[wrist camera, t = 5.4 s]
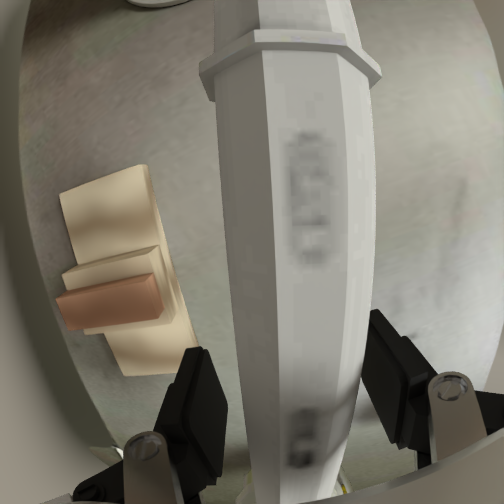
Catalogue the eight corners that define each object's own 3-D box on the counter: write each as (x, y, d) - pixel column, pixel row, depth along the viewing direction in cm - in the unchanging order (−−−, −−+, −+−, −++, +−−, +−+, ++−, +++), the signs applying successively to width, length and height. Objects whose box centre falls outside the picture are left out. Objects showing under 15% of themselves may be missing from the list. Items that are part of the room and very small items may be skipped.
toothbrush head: (382, -43, 4) (339, 578, 7) (331, 56, 11) (322, 500, 14) (178, -50, 4) (238, 586, 7) (210, 57, 11) (242, 506, 14)
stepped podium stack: (69, 192, 25) (26, 200, 19) (147, 164, 25) (113, 163, 18) (130, 366, 30) (107, 405, 24) (203, 358, 30) (192, 402, 23)
